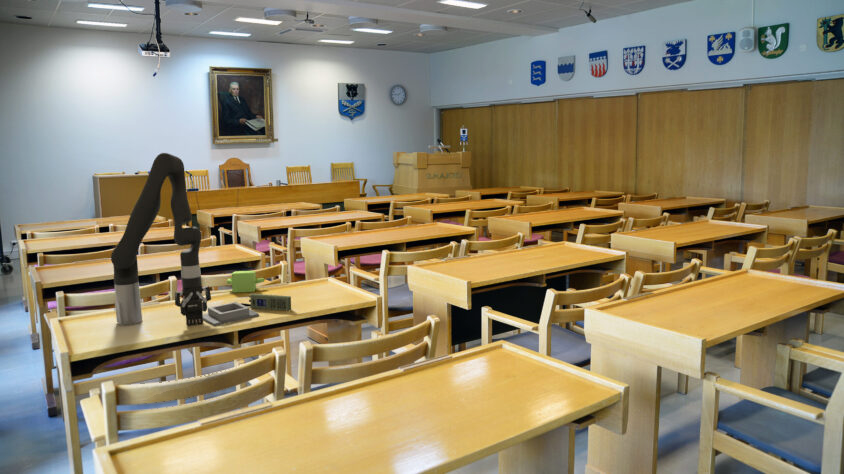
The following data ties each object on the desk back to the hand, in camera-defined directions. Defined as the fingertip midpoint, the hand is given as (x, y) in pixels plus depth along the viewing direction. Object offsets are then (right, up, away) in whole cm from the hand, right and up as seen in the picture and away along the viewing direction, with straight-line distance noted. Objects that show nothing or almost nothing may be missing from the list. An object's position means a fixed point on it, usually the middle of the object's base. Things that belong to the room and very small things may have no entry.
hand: (194, 313), depth 260 cm
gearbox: (+6, +5, +55) cm, 55 cm away
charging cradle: (+11, -3, +10) cm, 16 cm away
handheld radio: (+24, -1, +22) cm, 33 cm away
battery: (0, -5, +1) cm, 5 cm away
